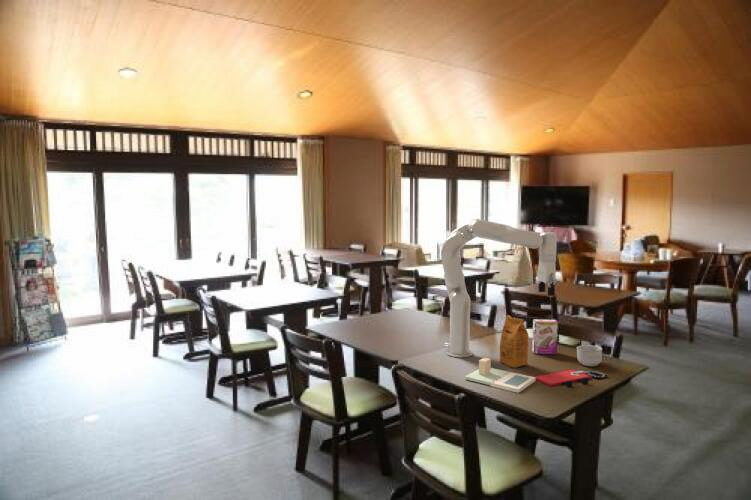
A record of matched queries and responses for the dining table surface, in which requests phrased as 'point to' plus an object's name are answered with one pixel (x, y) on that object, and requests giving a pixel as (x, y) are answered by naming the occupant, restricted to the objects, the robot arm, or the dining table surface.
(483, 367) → the green board with block
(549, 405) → the dining table surface
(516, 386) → the ticket board
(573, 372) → the red board with handle
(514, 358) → the coffee package
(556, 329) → the candy bar box
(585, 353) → the teacup
